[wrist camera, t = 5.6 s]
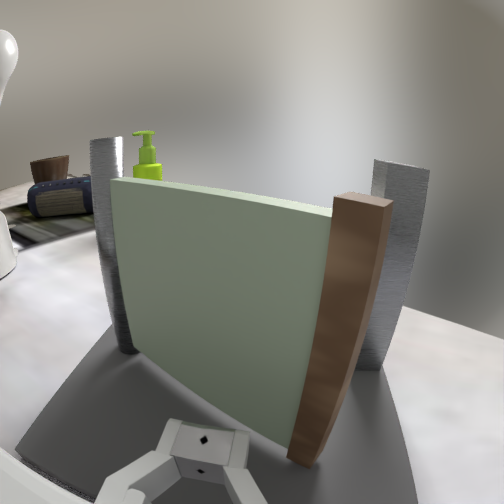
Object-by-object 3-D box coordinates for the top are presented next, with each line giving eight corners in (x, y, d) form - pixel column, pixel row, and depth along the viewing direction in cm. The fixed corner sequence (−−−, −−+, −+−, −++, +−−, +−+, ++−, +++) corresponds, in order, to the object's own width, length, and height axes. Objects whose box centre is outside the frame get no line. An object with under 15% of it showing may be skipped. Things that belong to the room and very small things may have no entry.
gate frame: (22, 458, 11) (-99, 183, 5) (129, 315, 30) (111, 139, 23) (412, 528, 9) (625, 213, 2) (367, 339, 27) (403, 150, 21)
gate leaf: (133, 353, 22) (106, 169, 16) (148, 345, 23) (127, 166, 18) (309, 469, 13) (384, 206, 8) (322, 450, 14) (393, 200, 9)
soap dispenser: (128, 232, 56) (123, 132, 49) (146, 223, 62) (143, 131, 55) (151, 235, 55) (148, 129, 48) (168, 225, 61) (167, 130, 54)
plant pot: (66, 205, 81) (62, 156, 75) (28, 210, 76) (23, 163, 70) (75, 197, 94) (73, 154, 88) (41, 201, 89) (38, 159, 83)
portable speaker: (24, 222, 64) (20, 187, 60) (38, 213, 73) (35, 181, 69) (101, 215, 69) (98, 177, 65) (110, 207, 78) (108, 172, 74)
